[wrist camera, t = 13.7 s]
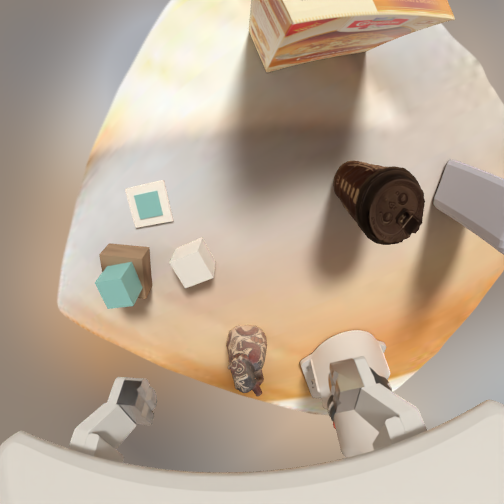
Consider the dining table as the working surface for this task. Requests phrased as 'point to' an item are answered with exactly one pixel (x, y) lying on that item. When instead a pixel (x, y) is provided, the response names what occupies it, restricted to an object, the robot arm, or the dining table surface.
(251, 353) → the figurine
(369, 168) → the coffee cup
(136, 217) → the tile
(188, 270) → the cream cube
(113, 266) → the teal cube
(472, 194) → the soap bottle
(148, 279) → the walnut base
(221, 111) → the dining table surface
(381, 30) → the coffeecake box
